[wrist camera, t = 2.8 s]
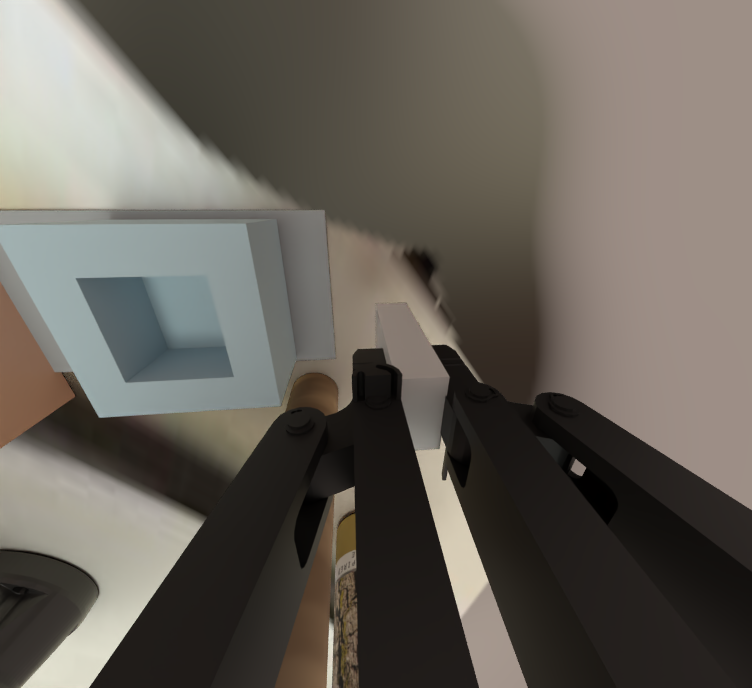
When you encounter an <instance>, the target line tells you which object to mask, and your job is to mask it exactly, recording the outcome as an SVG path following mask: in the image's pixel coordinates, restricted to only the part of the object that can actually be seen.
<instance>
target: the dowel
mask: <svg viewBox="0 0 752 688" xmlns="http://www.w3.org/2000/svg"><path fill="white" fill-rule="evenodd" d="M298 407H312V408H316V409H318V410H320V411H321V412H323V413H324V415H325V416H327V415H330V414H334V413H336V412H338V387H337V385H336V383H335V382H334V381H333V380H332V379H331V378H330V377H328V376H326V375H323V374H320V373H310V374H306V375H304V376H302V377H300V378H299V379H298V380H297V381H296V382H295V383H294V385H293V388H292V391H291V395H290V398H289V402H288V405H287V408H286V412H287V411H288V410H291V409H295V408H298ZM333 512H334V495H333V500H332V503H331V507H330V510H329V513H328V516H327V519H326V523H325V526H324V529H323V532H322V536H321V539H320V542H319V545H318V549H317V552H316V555H315V558H314V561H313V565H312V568H311V571H310V574H309V578H308V581H307V584H306V587H305V591H304V594H303V597H302V600H301V603H300V607H299V610H298V613H297V616H296V620H295V623H294V626H293V629H292V633H291V636H290V639H289V642H288V645H287V649H286V652H285V655H284V658H283V662H282V665H281V668H280V671H279V675H278V678H277V681H276V684H275V687H274V688H326V684H327V659H328V635H329V610H330V586H331V561H332V536H333Z"/></svg>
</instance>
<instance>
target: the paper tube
mask: <svg viewBox="0 0 752 688" xmlns="http://www.w3.org/2000/svg"><path fill="white" fill-rule="evenodd" d="M332 688H359V678H358V629H357V579H356V530H355V513H354V514H352V515H350V516H348V517H347V518H345V519H344V520H343V521H342V522H341V524H340V525H339V527H338V530H337V542H336V570H335V605H334V640H333V676H332Z"/></svg>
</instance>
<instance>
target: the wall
mask: <svg viewBox="0 0 752 688" xmlns="http://www.w3.org/2000/svg"><path fill="white" fill-rule="evenodd" d="M74 397H75V395H74V393H73V391H72V390H71V388H70V386H69V384H68V383H67V381H66V379H65V378H64V376H63V374H62V373H61V372H54V370H53V368H52V367H51V365H50V363H49V362H48V360H47V358H46V357H45V355H44V354H43V352H42V350H41V349H40V347H39V345H38V344H37V342H36V340H35V339H34V337H33V335H32V334H31V332H30V330H29V329H28V327H27V325H26V324H25V322H24V320H23V319H22V317H21V315H20V314H19V312H18V310H17V309H16V307H15V305H14V304H13V302H12V300H11V299H10V297H9V295H8V294H7V292H6V290H5V289H4V287H3V285H2V284H1V282H0V448H2V447H3V446H5V445H6V444H8V443H9V442H10V441H12V440H13V439H15V438H16V437H18V436H19V435H21V434H22V433H23V432H25V431H26V430H28V429H29V428H31V427H32V426H33V425H35V424H36V423H38V422H39V421H41V420H42V419H44V418H45V417H46V416H48V415H49V414H51V413H52V412H54V411H55V410H56V409H58V408H59V407H61V406H62V405H64V404H65V403H67V402H68V401H69V400H71V399H72V398H74Z"/></svg>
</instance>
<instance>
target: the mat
mask: <svg viewBox="0 0 752 688" xmlns="http://www.w3.org/2000/svg"><path fill="white" fill-rule="evenodd" d="M138 219H277V226H278V232H279V239H280V246H281V253H282V260H283V267H284V274H285V281H286V287H287V294H288V301H289V308H290V315H291V322H292V329H293V335H294V342H295V349H296V356H297V358H296V361H303V360H324V359H336V353H335V340H334V327H333V313H332V300H331V286H330V273H329V259H328V246H327V232H326V219H325V210H0V225H1V224H22V223H44V222H65V221H87V220H138ZM0 282H1V284H2V285H3V287H4V289H5V290H6V292H7V294H8V295H9V297H10V299H11V300H12V302H13V304H14V305H15V307H16V309H17V310H18V312H19V314H20V315H21V317H22V319H23V320H24V322H25V324H26V325H27V327H28V329H29V330H30V332H31V334H32V335H33V337H34V339H35V340H36V342H37V344H38V345H39V347H40V349H41V350H42V352H43V354H44V355H45V357H46V358H47V360H48V362H49V363H50V365H51V367H52V368H53V370H54V372H73V370H72V369H71V367H70V365H69V363H68V362H67V360H66V358H65V356H64V355H63V353H62V351H61V349H60V348H59V346H58V344H57V342H56V340H55V339H54V337H53V335H52V333H51V332H50V330H49V328H48V326H47V325H46V323H45V321H44V319H43V318H42V316H41V314H40V312H39V311H38V309H37V307H36V305H35V303H34V302H33V300H32V298H31V296H30V295H29V293H28V291H27V289H26V288H25V286H24V284H23V282H22V281H21V279H20V277H19V275H18V273H17V272H16V270H15V268H14V266H13V265H12V263H11V261H10V259H9V258H8V256H7V254H6V252H5V251H4V249H3V247H2V245H1V243H0Z"/></svg>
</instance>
